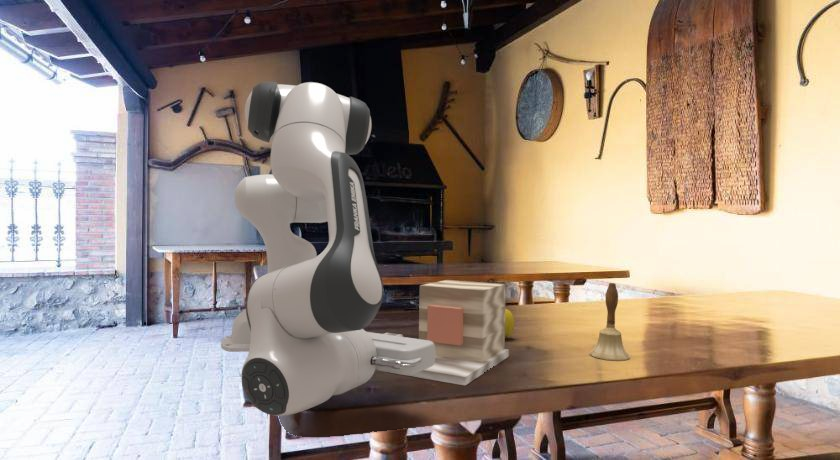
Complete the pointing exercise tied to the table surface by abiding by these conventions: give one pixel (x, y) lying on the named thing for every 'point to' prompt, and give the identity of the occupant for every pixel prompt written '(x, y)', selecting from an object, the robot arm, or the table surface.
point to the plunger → (445, 324)
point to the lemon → (508, 322)
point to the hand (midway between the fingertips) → (395, 338)
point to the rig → (466, 329)
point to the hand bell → (610, 332)
